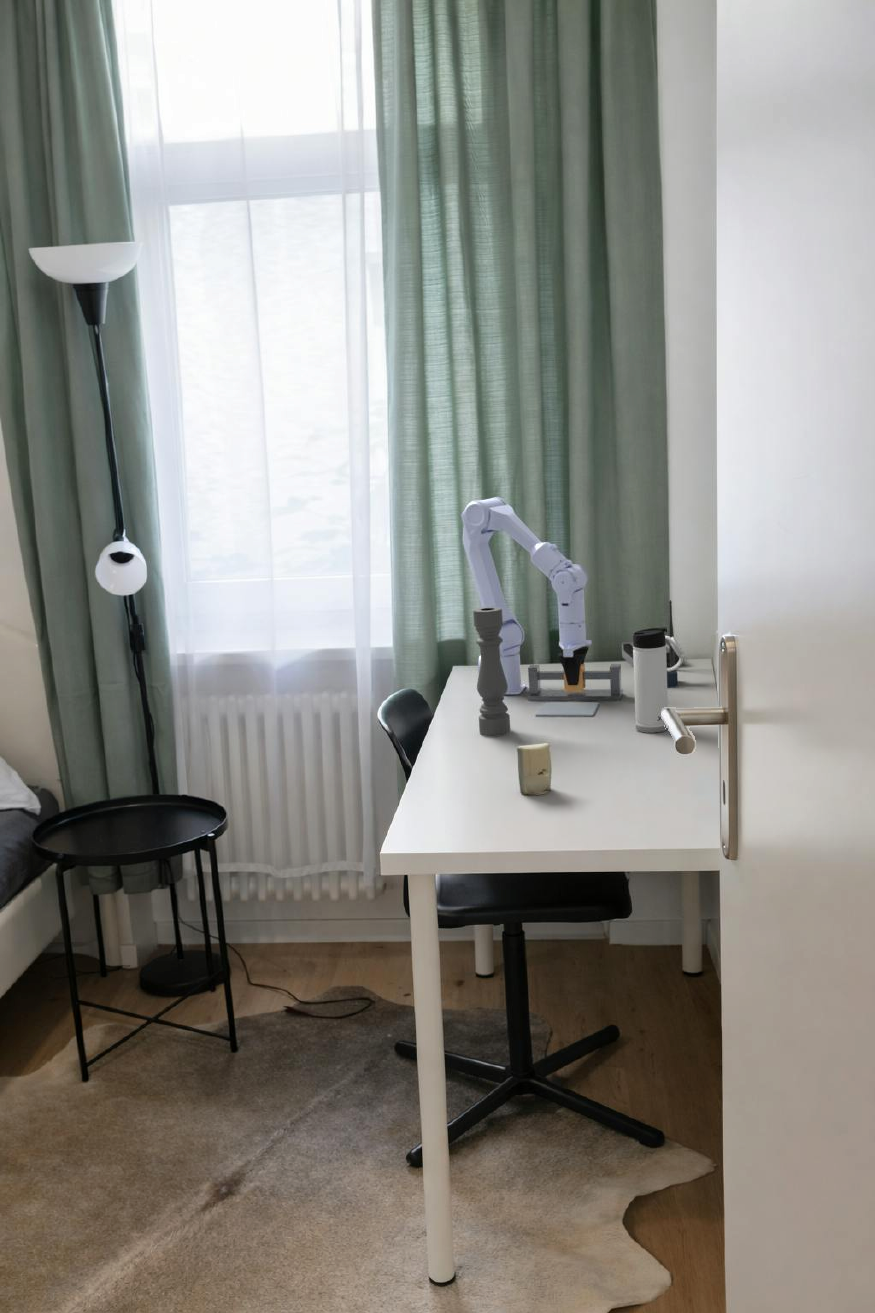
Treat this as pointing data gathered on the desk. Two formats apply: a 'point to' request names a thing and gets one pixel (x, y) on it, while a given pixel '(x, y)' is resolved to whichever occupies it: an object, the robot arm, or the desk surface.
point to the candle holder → (491, 673)
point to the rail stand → (586, 695)
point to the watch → (671, 672)
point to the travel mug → (650, 679)
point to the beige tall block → (534, 769)
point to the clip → (580, 684)
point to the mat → (567, 709)
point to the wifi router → (670, 653)
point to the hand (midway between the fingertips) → (574, 682)
